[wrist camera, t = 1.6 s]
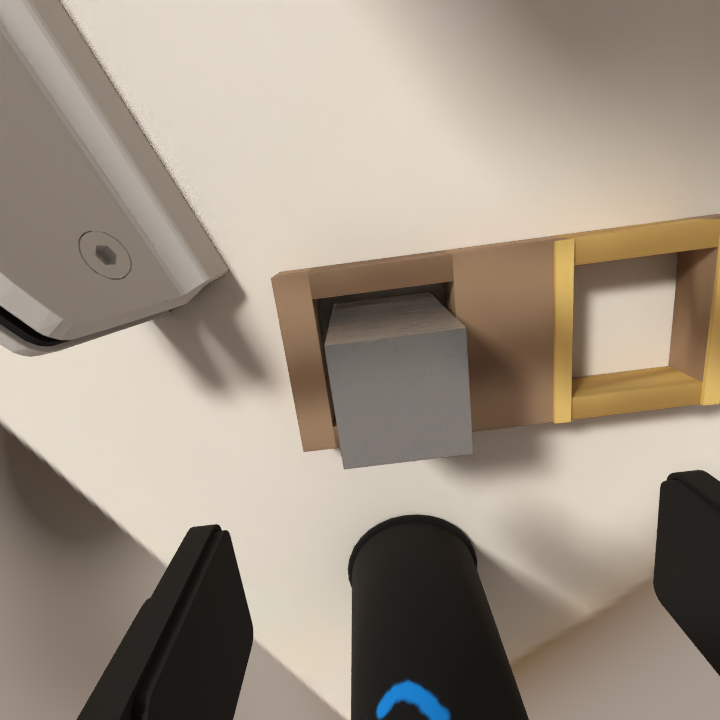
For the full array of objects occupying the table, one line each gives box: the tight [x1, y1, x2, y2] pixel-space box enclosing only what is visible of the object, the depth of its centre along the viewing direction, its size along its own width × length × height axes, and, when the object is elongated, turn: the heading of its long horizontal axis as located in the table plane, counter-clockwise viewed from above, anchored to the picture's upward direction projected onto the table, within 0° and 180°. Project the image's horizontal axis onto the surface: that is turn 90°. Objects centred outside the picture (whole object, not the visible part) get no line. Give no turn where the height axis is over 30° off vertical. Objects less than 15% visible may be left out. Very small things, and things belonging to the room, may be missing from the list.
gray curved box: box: [0, 0, 229, 357], centre depth 17 cm, size 17×5×10 cm, turn 29°
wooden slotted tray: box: [271, 214, 720, 452], centre depth 22 cm, size 9×22×3 cm, turn 97°
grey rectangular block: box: [324, 292, 473, 469], centre depth 20 cm, size 5×5×8 cm
